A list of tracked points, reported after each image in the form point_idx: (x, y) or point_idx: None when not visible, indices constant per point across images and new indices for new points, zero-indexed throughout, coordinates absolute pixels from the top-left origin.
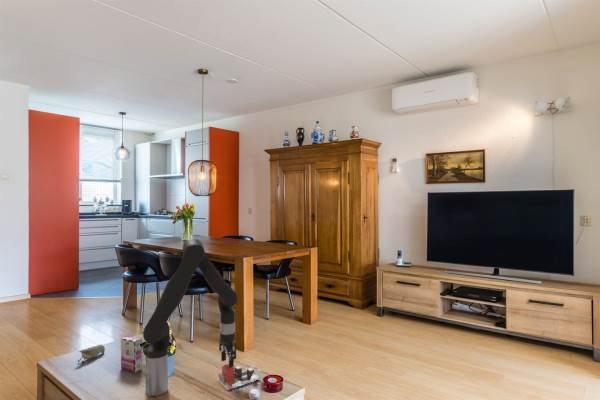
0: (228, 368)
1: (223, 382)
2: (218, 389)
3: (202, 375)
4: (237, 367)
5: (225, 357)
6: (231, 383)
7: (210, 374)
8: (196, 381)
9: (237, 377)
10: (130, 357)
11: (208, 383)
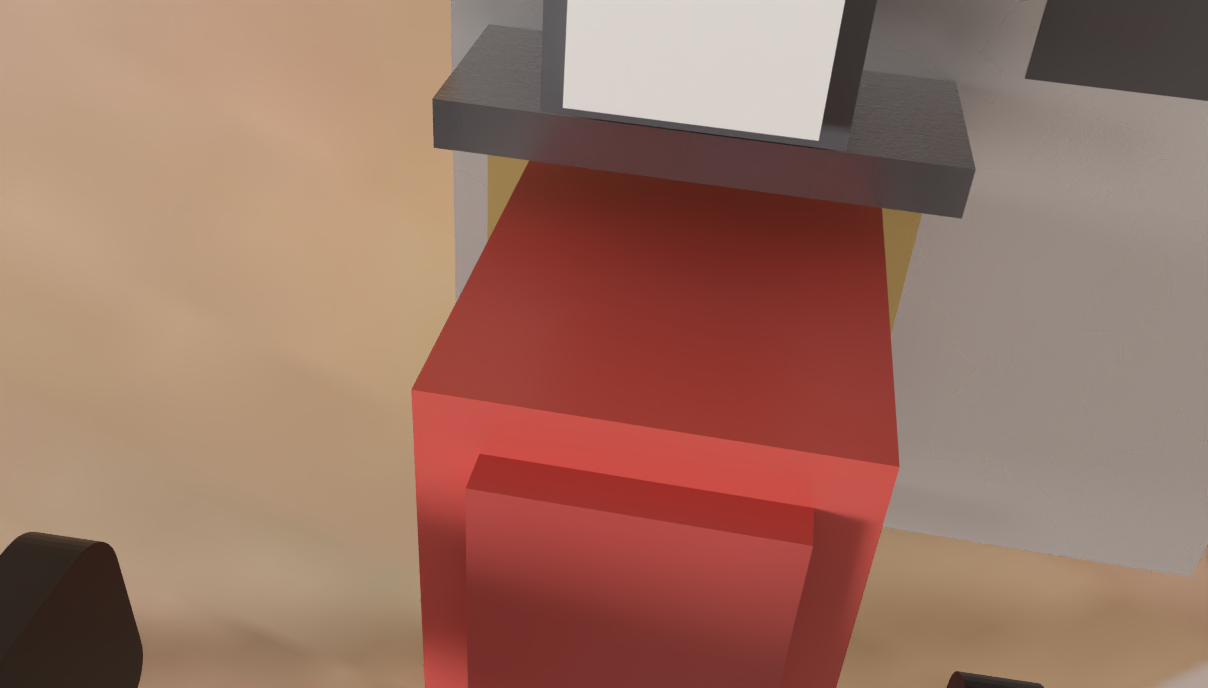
0: (818, 680)
1: None
2: (904, 607)
3: (20, 492)
4: (696, 58)
5: (22, 669)
6: (1049, 382)
7: (41, 358)
8: (245, 673)
9: None
10: None
11: None
